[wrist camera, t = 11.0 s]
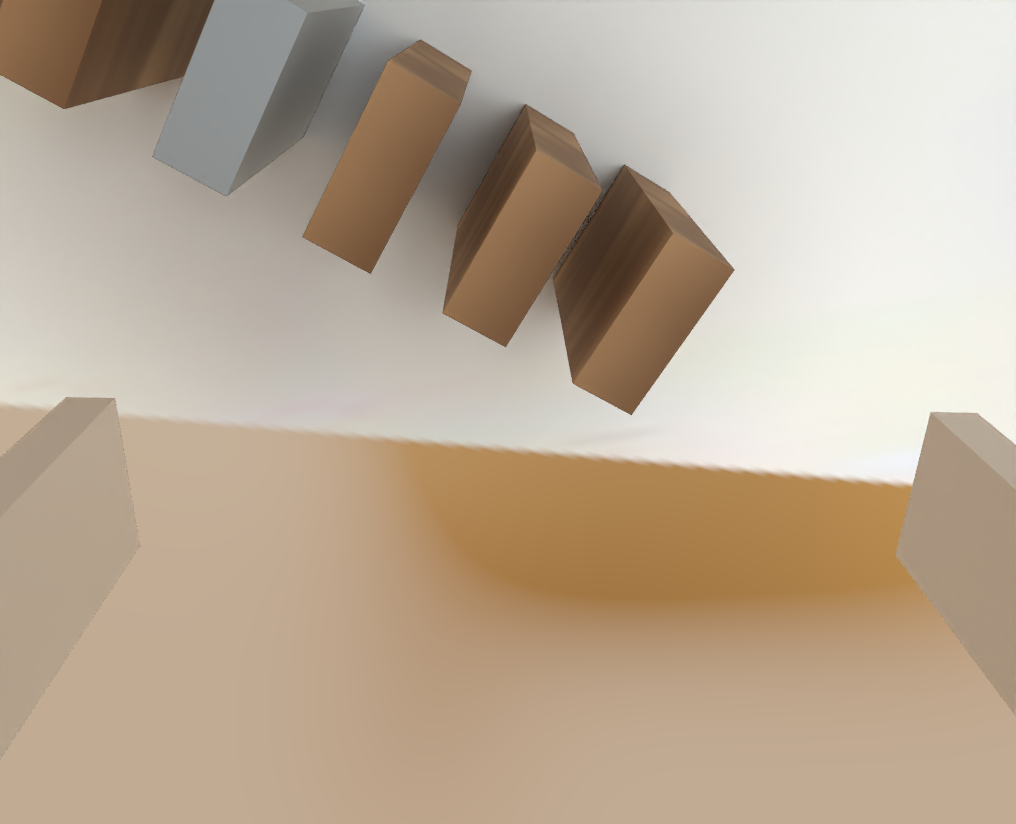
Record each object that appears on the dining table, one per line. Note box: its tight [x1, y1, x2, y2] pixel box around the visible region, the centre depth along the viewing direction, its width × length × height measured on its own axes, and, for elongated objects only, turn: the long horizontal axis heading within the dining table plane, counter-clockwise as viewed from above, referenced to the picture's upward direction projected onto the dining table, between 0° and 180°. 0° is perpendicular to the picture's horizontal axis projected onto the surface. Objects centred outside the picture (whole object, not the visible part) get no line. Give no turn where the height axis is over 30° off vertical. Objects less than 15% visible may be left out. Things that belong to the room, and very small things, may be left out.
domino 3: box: [302, 40, 471, 274], centre depth 27 cm, size 2×5×10 cm, turn 150°
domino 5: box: [553, 165, 734, 415], centre depth 29 cm, size 2×5×10 cm, turn 150°
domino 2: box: [152, 0, 364, 196], centre depth 26 cm, size 2×5×10 cm, turn 150°
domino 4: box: [443, 105, 603, 347], centre depth 28 cm, size 2×5×10 cm, turn 150°
